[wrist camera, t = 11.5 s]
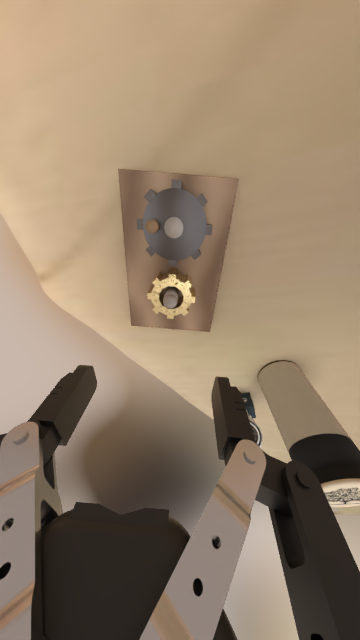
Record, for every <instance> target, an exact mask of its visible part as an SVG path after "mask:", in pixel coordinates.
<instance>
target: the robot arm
mask: <svg viewBox="0 0 360 640" xmlns="http://www.w3.org/2000/svg"><path fill="white" fill-rule="evenodd" d="M96 387H97V380H96V376H95V372H94V368H93V366H87V365H79V366H78V367H77V368H76V370H75V371H74V372H73V373H68V374H67V375H66V376H64V377H63V378H62V379H61V380H60V381H59V382H58V384H57V385H56V386H55V388H54V389H53V390H52V391H51V392H50V394H49V395H48V396H47V398H46V399H45V400H44V401H43V403H42V404H41V405H40V406H39V408H38V409H37V410H36V412H35V413H34V414H33V415H32V417H31V418H30V419H29V420H28V421H27V422H25V423H22V424H20V425H18V426H16V427H14V428H13V429H12V430H11V431H9V432H8V433H7V434H3V435H0V640H237V638H236V636H235V633H234V631H233V629H232V626H231V624H230V622H229V620H228V618H227V616H226V613H225V611H224V609H223V606H224V603H225V600H226V597H227V593H228V590H229V587H230V584H231V581H232V578H233V575H234V572H235V568H236V566H237V562H238V559H239V556H240V553H241V550H242V547H243V544H244V541H245V537H246V534H247V531H248V528H249V524H250V519H251V518H250V514H251V510H252V507H253V504H254V501H255V500H257V501H259V502H261V503H263V504H264V505H266V506H268V507H269V511H270V515H271V520H272V524H273V528H274V533H275V537H276V541H277V546H278V550H279V554H280V559H281V563H282V567H283V572H284V576H285V580H286V585H287V589H288V593H289V597H290V602H291V606H292V610H293V615H294V619H295V623H296V627H297V631H298V636H299V640H360V572H359V570H358V567H357V565H356V563H355V561H354V558H353V556H352V554H351V552H350V549H349V547H348V545H347V542H346V540H345V538H344V536H343V533H342V531H341V529H340V527H339V524H338V522H337V520H336V518H335V516H334V513H333V511H332V509H331V507H330V504H329V502H328V500H327V498H326V495H325V493H324V491H323V489H322V486H321V484H320V482H319V480H318V478H317V477H316V475H315V474H314V472H313V471H312V470H311V469H310V468H309V467H307V466H306V465H305V464H303V463H301V462H299V461H290V462H289V463H288V464H287V463H284V462H282V461H280V460H278V459H275V458H273V457H271V456H269V455H268V454H266V453H265V452H264V451H263V450H262V449H261V448H260V447H259V446H258V444H257V443H256V441H255V438H254V435H253V432H252V428H251V425H250V421H249V418H248V415H247V411H246V408H245V405H244V401H243V398H242V394H241V393H240V392H239V390H238V389H237V387H231V386H230V383H229V379H228V378H227V377H216V378H215V382H214V386H213V390H212V408H213V416H214V423H215V432H216V440H217V448H218V456H219V459H222V460H225V467H226V468H225V470H224V472H223V474H222V476H221V478H220V480H219V482H218V484H217V485H216V487H215V489H214V491H213V493H212V495H211V497H210V499H209V501H208V504H207V505H206V508H205V509H204V511H203V513H202V515H201V518H200V519H199V522H198V523H197V525H196V528H195V530H194V531H193V533H192V535H191V537H190V535H189V534H188V532H187V531H186V530H185V528H184V527H183V526H182V525H181V524H180V523H179V522H178V521H176V520H175V519H174V518H172V517H170V516H169V510H165V509H153V508H144V509H141V510H137V511H134V512H130V513H127V514H123V515H119V514H117V513H115V512H113V511H111V510H109V509H107V508H106V507H104V506H102V505H100V504H93V503H81V502H76V504H75V506H74V509H72V510H70V511H67V512H65V513H63V510H62V504H61V500H60V496H59V493H58V485H57V474H56V462H55V453H54V452H55V450H56V448H57V446H58V445H64V446H66V445H67V443H68V441H69V439H70V437H71V435H72V433H73V431H74V429H75V428H76V426H77V424H78V422H79V420H80V418H81V416H82V415H83V413H84V411H85V409H86V407H87V405H88V403H89V402H90V400H91V398H92V396H93V394H94V392H95V390H96Z"/></svg>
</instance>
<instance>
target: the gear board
mask: <svg viewBox="0 0 360 640" xmlns="http://www.w3.org/2000/svg"><path fill="white" fill-rule="evenodd" d="M118 171H119V183H120V195H121V207H122V219H123V231H124V243H125V255H126V267H127V279H128V291H129V303H130V315H131V326H143V327H156V328H168V329H180V330H193V331H205V332H210V328H211V323H212V317H213V312H214V307H215V302H216V296H217V291H218V286H219V281H220V275H221V270H222V265H223V259H224V254H225V249H226V244H227V238H228V233H229V228H230V223H231V217H232V212H233V207H234V201H235V196H236V191H237V186H238V180H239V179H235V178H223V177H211V176H199V175H187V174H174V173H162V172H150V171H138V170H126V169H118ZM171 268H177V272H179V273H180V274H182V275H183V276H185V275H187V274H188V275H189V276H190V277H191V278H192V286H191V288H193V289H195V296H196V298H195V303H191V305H190V306H189V313H188V314H186V315H185V316H184V315H183V314H182V313H181V314H179V315H176V316H174V319H167V315H165V314H163V313H161V312H158V313H157V314H156V313H155V312H154V311H153V310H152V308H153V306H154V305H153V303H152V300H150V299H147V292H148V290H149V289H150V287H151V285H154V284H153V283H152V281H153V279H154V277H155V276H156V275H157V274H158V273H159V272H161V273H162V274H165V273H167V272H170V269H171ZM162 293H163V294H164V298H163V304H164V306H165V307H167V308H174V307H175V306H176V305H177V300H178V299H179V298H181V296H182V295H183V294H182V292H181V290H179V289H178V288H176V287H173V286H168V287H166V288H163V289H162Z"/></svg>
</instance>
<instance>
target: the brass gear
mask: <svg viewBox="0 0 360 640" xmlns="http://www.w3.org/2000/svg"><path fill="white" fill-rule="evenodd" d="M152 283H153V284H154V285H151V287H150V289H149V290H148V292H147V299H150V300H152V303H153V305H154V306H153V308H152V310H153V311H154V312H155V313H156V314H157V313H158V312H161V313H163V314H165V315H167V319H174V316H176V315H179V314H181V313H182V314H183V315H184V316H185V315H186V314H188V313H189V306H190V305H191V303H195V298H196V296H195V289H193V288H191V286H192V278H191V277H190V276H189V275H188V274H187V275H185V276H183V275H182V274H180V273H179V272H177V268H171V269H170V272H167V273H165V274H162V273H161V272H159V273H158V274H157V275H156V276H155V277H154V279H153V281H152ZM168 286H173V287H176V288H178V289H179V290H181V292H182V294H183V295H182V296H181V298H179V299H178V300H177V305H176V306H175V307H174V308H167V307H165V306H164V304H163V298H164V294H163V293H162V289H163V288H166V287H168Z"/></svg>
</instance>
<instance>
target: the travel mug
mask: <svg viewBox="0 0 360 640" xmlns="http://www.w3.org/2000/svg"><path fill="white" fill-rule="evenodd" d="M258 381H259V384H260V386H261V389H262V391H263V393H264V396H265V398H266V400H267V403H268V405H269V407H270V410H271V412H272V414H273V417H274V419H275V422H276V424H277V426H278V429H279V431H280V433H281V436H282V438H283V440H284V443H285V445H286V447H287V450H288V452H289V455H290V457H291V459H292V461H299V462H301V463H303V464H305V465H306V466H307V467H309V468H310V469H311V470H312V471H313V472H314V474H315V475H316V477H317V478H318V480H319V482H320V484H321V486H322V489H323V491H324V493H325V495H326V498H327V500H328V502H329V504H330V507H350V506H358V505H360V451H359V449H358V448H357V447H356V445H355V444H354V443H353V441H352V440H351V438H350V437H349V436H348V434H347V433H346V432H345V430H344V429H343V427H342V426H341V425H340V423H339V422H338V421H337V419H336V418H335V416H334V415H333V414H332V412H331V411H330V410H329V408H328V407H327V405H326V404H325V403H324V401H323V400H322V399H321V397H320V396H319V395H318V393H317V392H316V390H315V389H314V388H313V386H312V385H311V384H310V382H309V381H308V379H307V378H306V377H305V375H304V374H303V373H302V371H301V370H300V368H299V367H298V366H297V365H296V364H294V363H292V362H287V361H281V362H275V363H272V364H270V365H268V366H266V367H265V368H263V369H262V370H261V372H260V373H259V375H258Z"/></svg>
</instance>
